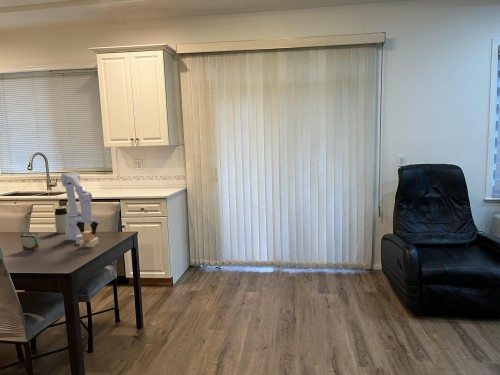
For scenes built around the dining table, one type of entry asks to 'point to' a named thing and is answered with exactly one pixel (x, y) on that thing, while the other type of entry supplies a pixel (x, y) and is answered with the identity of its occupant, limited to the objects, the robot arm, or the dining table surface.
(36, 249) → the food container
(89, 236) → the terracotta cube
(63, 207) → the travel mug
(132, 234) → the dining table surface
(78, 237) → the off-white cube
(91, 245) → the maple block
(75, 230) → the robot arm
